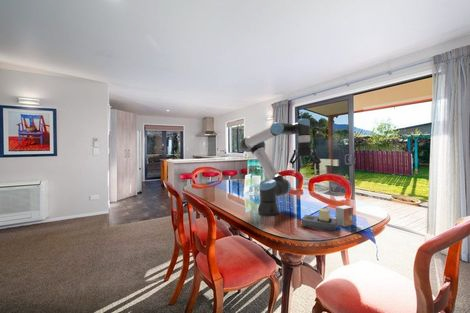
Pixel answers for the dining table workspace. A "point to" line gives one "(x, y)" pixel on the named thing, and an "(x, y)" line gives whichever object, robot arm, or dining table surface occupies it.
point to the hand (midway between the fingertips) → (304, 173)
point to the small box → (344, 215)
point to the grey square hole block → (318, 223)
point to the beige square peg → (324, 215)
